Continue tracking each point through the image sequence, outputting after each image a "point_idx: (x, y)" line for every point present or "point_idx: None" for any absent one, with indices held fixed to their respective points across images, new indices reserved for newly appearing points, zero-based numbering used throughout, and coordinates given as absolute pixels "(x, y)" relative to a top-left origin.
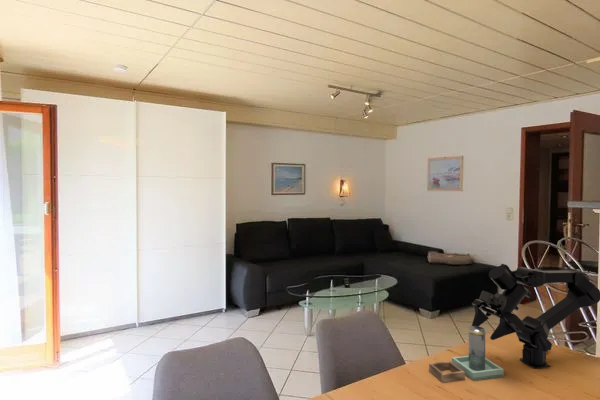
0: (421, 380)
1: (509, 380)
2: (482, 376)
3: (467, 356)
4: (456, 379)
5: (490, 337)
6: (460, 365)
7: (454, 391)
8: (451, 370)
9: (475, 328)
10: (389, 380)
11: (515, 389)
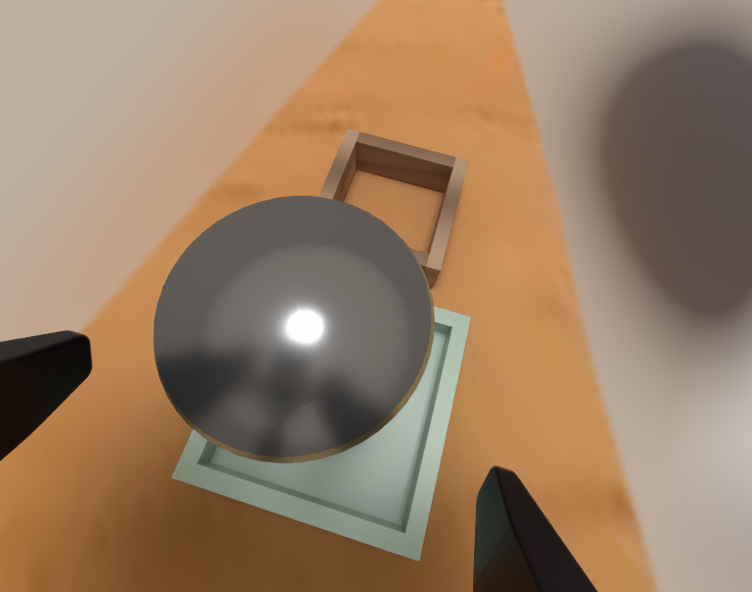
0: (408, 109)
1: (151, 465)
2: None
3: (436, 426)
4: None
5: (75, 336)
6: None
7: (275, 145)
8: None
9: (319, 307)
10: (463, 32)
11: (87, 392)
